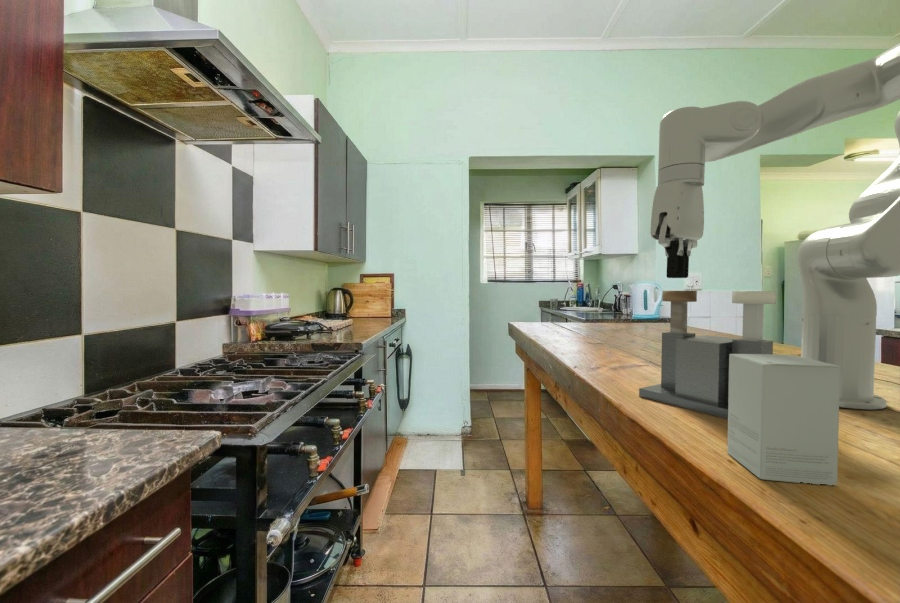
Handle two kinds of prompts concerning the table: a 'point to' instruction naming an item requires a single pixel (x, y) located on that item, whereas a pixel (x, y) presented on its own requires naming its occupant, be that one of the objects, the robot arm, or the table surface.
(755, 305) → the cream plunger
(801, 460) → the supplement box
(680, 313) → the walnut plunger
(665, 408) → the table surface
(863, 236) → the robot arm
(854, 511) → the table surface
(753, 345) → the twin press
